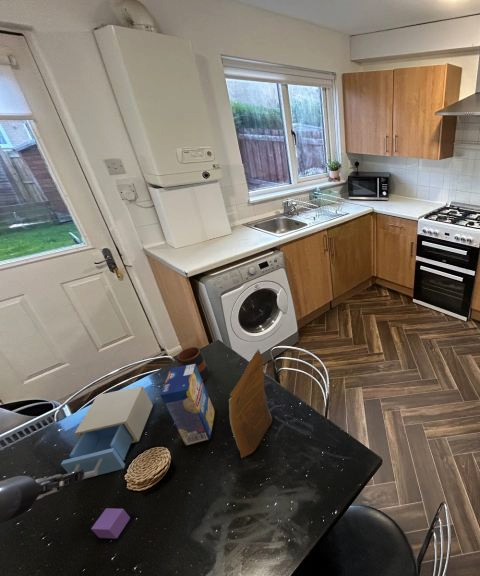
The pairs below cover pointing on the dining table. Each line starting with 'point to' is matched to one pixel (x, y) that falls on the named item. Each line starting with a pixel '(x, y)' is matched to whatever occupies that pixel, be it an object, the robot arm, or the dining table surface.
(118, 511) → the block
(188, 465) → the dining table surface
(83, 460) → the drawer
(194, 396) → the blue cereal box
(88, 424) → the cabinet
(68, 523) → the dining table surface
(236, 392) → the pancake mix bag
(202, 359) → the mug
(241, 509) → the dining table surface
